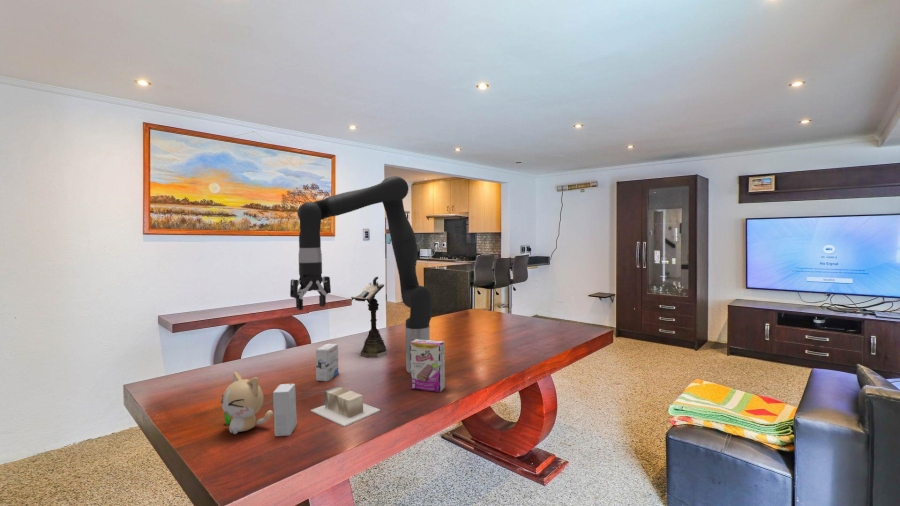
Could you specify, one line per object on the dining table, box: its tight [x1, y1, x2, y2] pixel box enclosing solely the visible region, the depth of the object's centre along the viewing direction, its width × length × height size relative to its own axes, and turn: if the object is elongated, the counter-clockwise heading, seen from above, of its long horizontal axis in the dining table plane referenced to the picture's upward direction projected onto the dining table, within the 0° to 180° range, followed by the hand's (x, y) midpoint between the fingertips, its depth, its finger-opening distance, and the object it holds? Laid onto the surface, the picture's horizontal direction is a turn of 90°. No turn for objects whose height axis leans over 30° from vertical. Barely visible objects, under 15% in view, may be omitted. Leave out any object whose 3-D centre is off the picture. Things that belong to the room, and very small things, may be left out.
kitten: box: [220, 371, 274, 435], centre depth 113 cm, size 15×10×15 cm
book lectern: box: [350, 276, 388, 359], centre depth 181 cm, size 17×13×35 cm
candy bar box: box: [410, 339, 446, 393], centre depth 141 cm, size 11×5×16 cm, turn 71°
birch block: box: [324, 386, 364, 418], centre depth 124 cm, size 5×5×12 cm
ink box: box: [315, 343, 339, 382], centre depth 154 cm, size 9×5×12 cm, turn 168°
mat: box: [310, 402, 381, 428], centre depth 124 cm, size 16×13×1 cm
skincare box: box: [272, 383, 298, 437], centre depth 112 cm, size 6×4×12 cm
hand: (311, 308), depth 142 cm, fingers open, 8 cm apart
